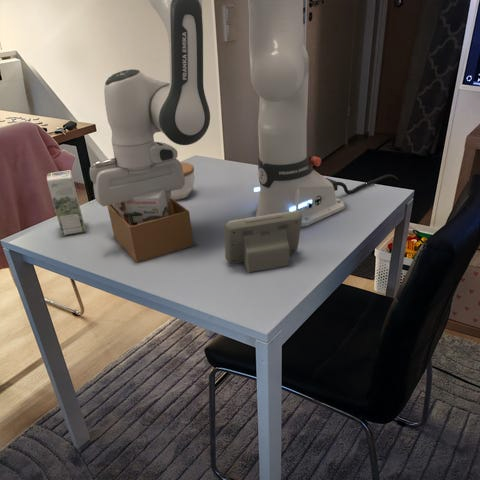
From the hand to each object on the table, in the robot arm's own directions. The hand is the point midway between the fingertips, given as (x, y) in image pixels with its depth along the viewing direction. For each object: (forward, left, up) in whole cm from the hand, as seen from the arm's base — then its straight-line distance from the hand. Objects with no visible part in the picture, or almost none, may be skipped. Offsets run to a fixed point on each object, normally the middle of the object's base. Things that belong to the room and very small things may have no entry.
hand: (144, 214), depth 121 cm
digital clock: (-17, +25, -7) cm, 31 cm away
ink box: (-1, +1, -6) cm, 6 cm away
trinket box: (-18, -23, -7) cm, 30 cm away
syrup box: (+13, -18, -7) cm, 24 cm away
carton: (-1, +1, -7) cm, 7 cm away
